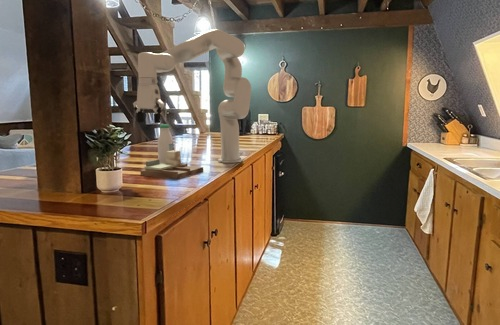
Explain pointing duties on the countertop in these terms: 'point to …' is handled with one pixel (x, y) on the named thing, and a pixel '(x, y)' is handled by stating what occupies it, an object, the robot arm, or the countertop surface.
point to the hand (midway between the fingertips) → (148, 122)
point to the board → (173, 171)
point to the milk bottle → (164, 143)
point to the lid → (157, 165)
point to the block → (173, 157)
